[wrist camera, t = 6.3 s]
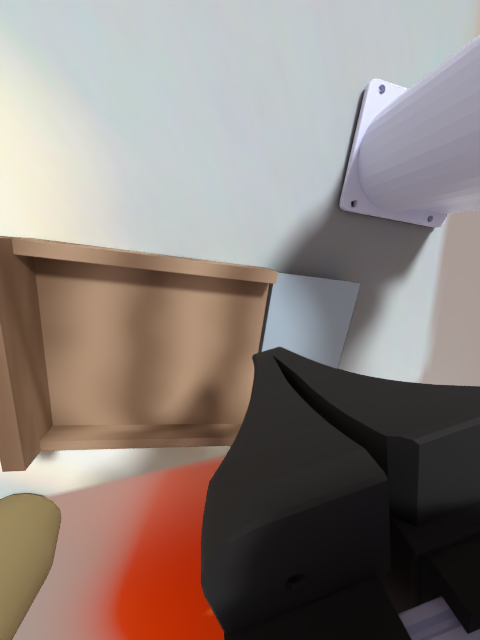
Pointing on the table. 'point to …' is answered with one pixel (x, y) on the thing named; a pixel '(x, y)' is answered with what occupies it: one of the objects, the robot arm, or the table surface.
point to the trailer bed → (122, 348)
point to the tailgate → (308, 316)
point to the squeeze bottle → (24, 554)
